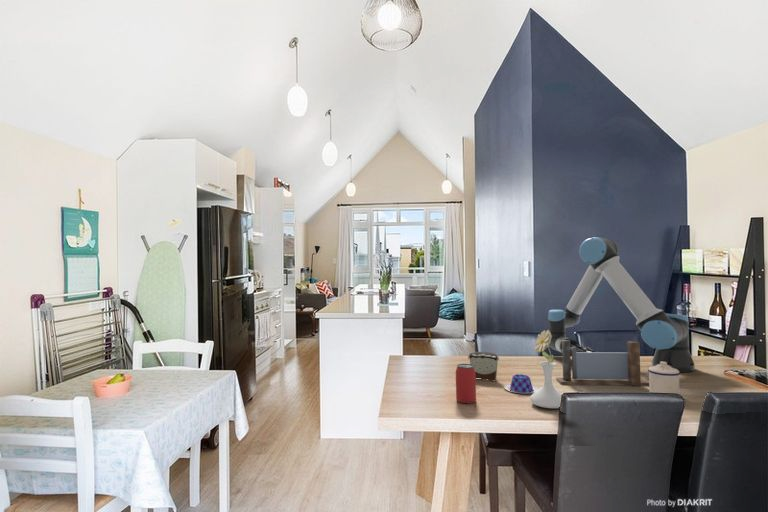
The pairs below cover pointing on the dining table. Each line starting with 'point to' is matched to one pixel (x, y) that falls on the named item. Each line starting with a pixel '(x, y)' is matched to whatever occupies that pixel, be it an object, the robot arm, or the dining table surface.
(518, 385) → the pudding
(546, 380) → the flower in vase
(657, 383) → the teacup with lid
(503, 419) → the dining table surface
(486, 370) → the food container
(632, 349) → the gate frame
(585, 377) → the gate leaf
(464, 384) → the beer can
